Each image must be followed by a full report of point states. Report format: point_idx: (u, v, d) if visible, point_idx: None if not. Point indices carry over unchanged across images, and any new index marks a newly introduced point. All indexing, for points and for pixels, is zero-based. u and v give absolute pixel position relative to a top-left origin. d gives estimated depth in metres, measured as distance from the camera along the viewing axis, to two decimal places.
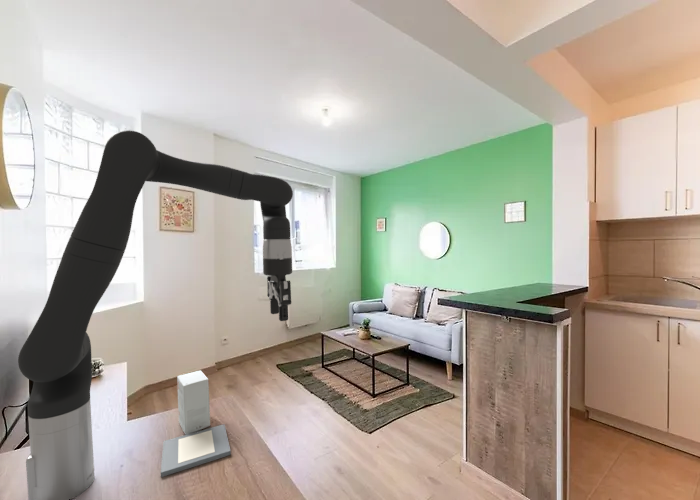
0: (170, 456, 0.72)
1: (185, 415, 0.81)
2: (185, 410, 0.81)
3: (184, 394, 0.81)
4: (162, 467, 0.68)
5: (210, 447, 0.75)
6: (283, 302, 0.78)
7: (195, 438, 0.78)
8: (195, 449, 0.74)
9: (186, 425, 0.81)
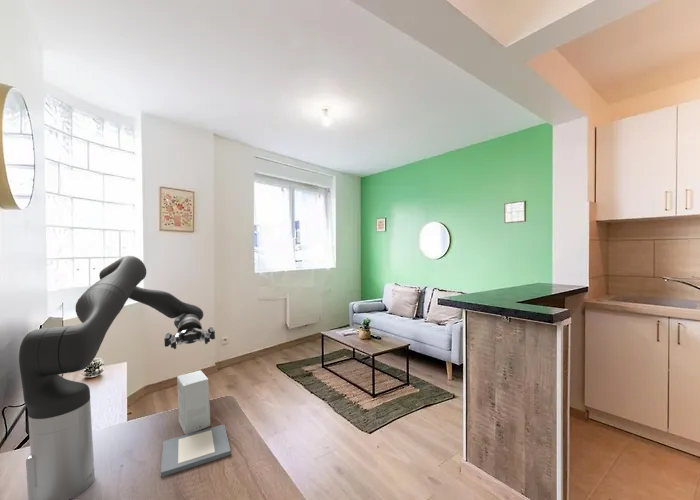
0: (170, 456, 0.72)
1: (185, 415, 0.81)
2: (185, 410, 0.81)
3: (184, 394, 0.81)
4: (162, 467, 0.68)
5: (210, 447, 0.75)
6: None
7: (195, 438, 0.78)
8: (195, 449, 0.74)
9: (186, 425, 0.81)
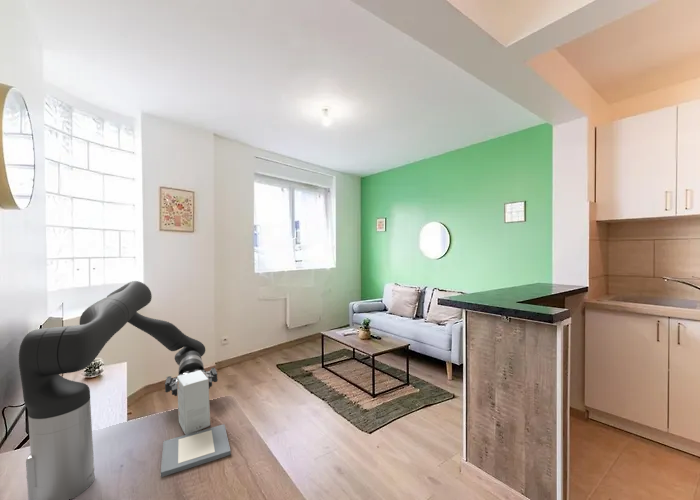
0: (170, 456, 0.72)
1: (185, 415, 0.81)
2: (185, 410, 0.81)
3: (184, 394, 0.81)
4: (162, 467, 0.68)
5: (210, 447, 0.75)
6: None
7: (195, 438, 0.78)
8: (195, 449, 0.74)
9: (186, 425, 0.81)
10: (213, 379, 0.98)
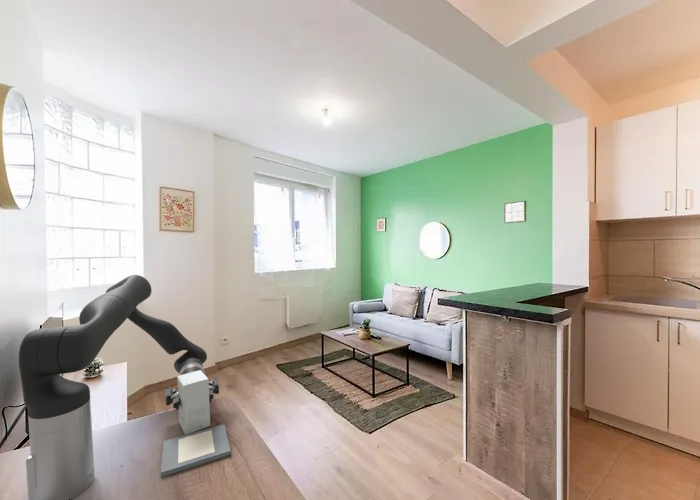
0: (170, 456, 0.72)
1: (185, 415, 0.81)
2: (185, 410, 0.81)
3: (184, 394, 0.81)
4: (162, 467, 0.68)
5: (210, 447, 0.75)
6: None
7: (195, 438, 0.78)
8: (195, 449, 0.74)
9: (186, 425, 0.81)
10: (214, 391, 0.90)
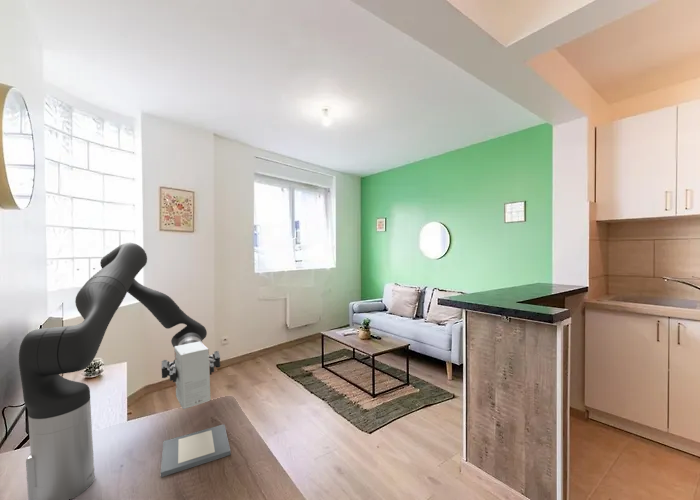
0: (170, 456, 0.72)
1: (183, 387, 0.73)
2: (183, 382, 0.73)
3: (182, 364, 0.73)
4: (162, 467, 0.68)
5: (210, 447, 0.75)
6: None
7: (195, 438, 0.78)
8: (195, 449, 0.74)
9: (184, 398, 0.74)
10: (215, 364, 0.82)
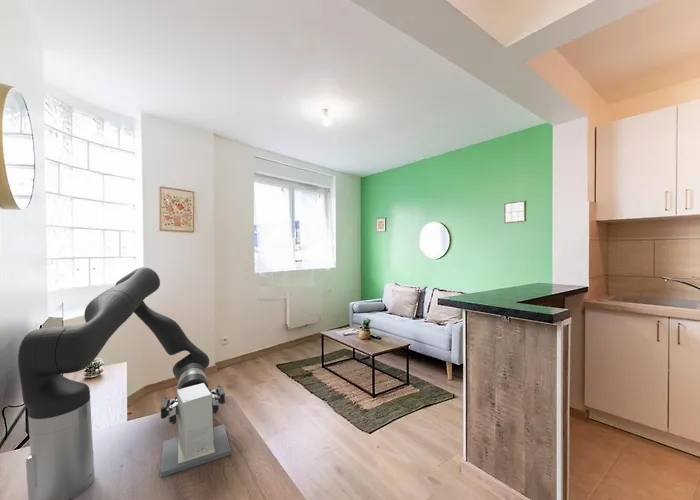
0: (170, 456, 0.72)
1: (185, 436, 0.71)
2: (185, 430, 0.70)
3: (183, 412, 0.70)
4: (162, 467, 0.68)
5: None
6: None
7: None
8: None
9: (186, 448, 0.71)
10: (220, 400, 0.80)
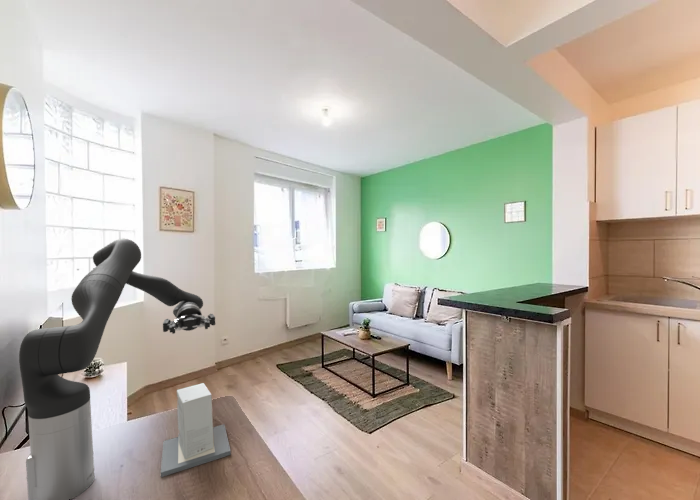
0: (170, 456, 0.72)
1: (185, 436, 0.71)
2: (185, 431, 0.70)
3: (183, 412, 0.70)
4: (162, 467, 0.68)
5: None
6: None
7: None
8: None
9: (186, 448, 0.71)
10: (211, 322, 0.98)
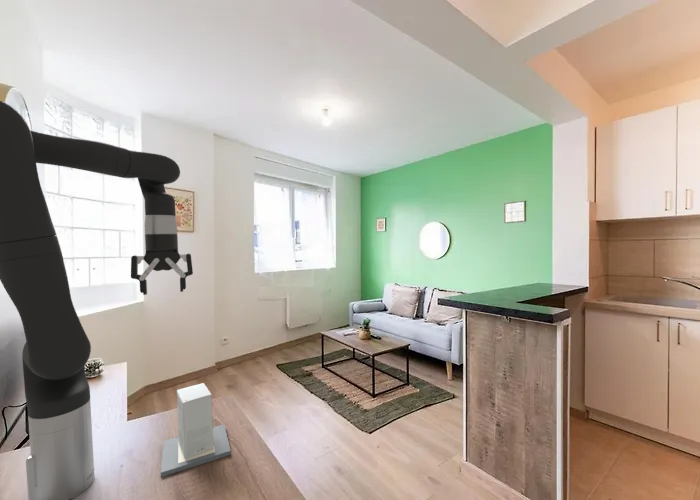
0: (170, 456, 0.72)
1: (185, 436, 0.71)
2: (185, 430, 0.70)
3: (183, 412, 0.70)
4: (162, 467, 0.68)
5: None
6: None
7: None
8: None
9: (186, 448, 0.71)
10: (187, 275, 0.88)
